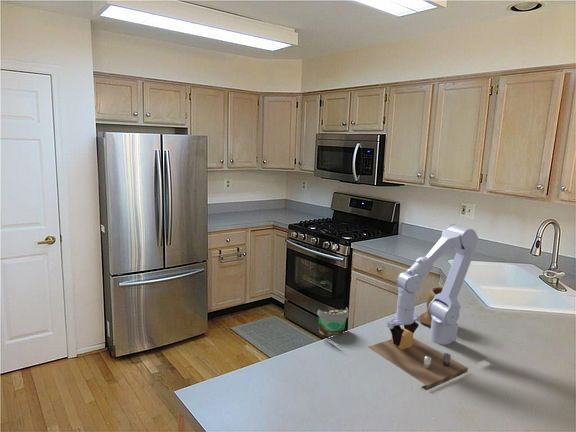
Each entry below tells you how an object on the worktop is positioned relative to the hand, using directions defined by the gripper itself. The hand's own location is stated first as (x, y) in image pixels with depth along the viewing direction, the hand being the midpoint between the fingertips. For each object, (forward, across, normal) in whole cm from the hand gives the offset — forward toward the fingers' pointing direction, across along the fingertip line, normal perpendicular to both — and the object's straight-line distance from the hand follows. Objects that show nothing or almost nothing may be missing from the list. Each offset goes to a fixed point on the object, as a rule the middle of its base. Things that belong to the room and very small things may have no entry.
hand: (401, 342), depth 137 cm
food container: (+2, +16, -18) cm, 24 cm away
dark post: (+2, -3, +16) cm, 16 cm away
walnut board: (+2, +2, +8) cm, 9 cm away
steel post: (+2, +4, +14) cm, 15 cm away
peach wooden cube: (+1, 0, 0) cm, 1 cm away
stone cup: (+2, -30, -8) cm, 31 cm away
